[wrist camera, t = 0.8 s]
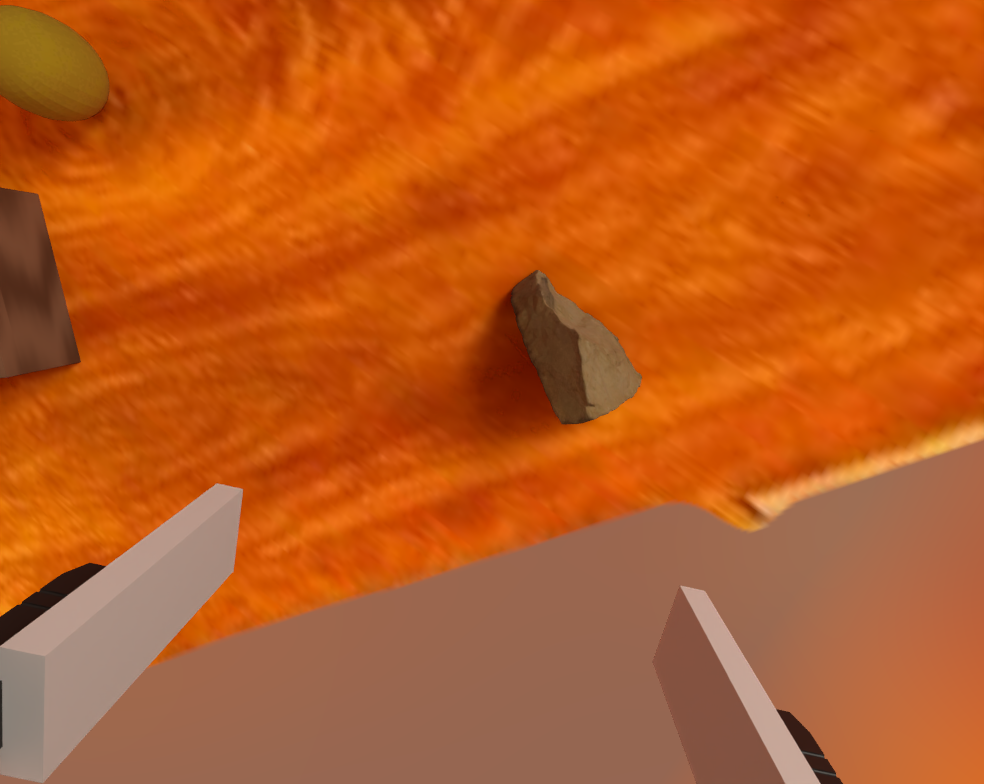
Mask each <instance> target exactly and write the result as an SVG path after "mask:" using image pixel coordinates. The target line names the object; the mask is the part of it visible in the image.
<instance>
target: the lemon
mask: <svg viewBox="0 0 984 784" xmlns="http://www.w3.org/2000/svg"><path fill="white" fill-rule="evenodd" d="M0 95H2V96H3V97H5V98H6V99H8V100H9V101H11V102H12V103H14V104H15V105H17V106H19V107H21V108H22V109H25V110H27V111H29V112H32V113H34V114H37V115H39V116H42V117H45V118H48V119H53V120H61V121H78V120H84V119H88V118H90V117H92V116H94V115H95V114H97V113H98V112H99V111H100V110H101V109H102V108H103V107H104V105H105V103H106V102H107V99H108V95H109V79H108V74H107V71H106V69H105V67H104V64H103V62H102V60H101V58H100V57H99V56H98V54H97V53H96V52H95V50H94V49H93V48H92V46H91V45H90V44H89V43H88V42H87V41H86V40H84V39H83V38H82V37H81V36H80V35H79V34H78V33H76V32H75V31H74V30H73V29H71V28H70V27H68V26H67V25H65V24H63V23H61V22H60V21H58V20H56V19H54V18H52V17H50V16H48V15H46V14H43V13H41V12H38V11H34V10H30V9H26V8H22V7H18V6H11V5H4V6H0Z"/></svg>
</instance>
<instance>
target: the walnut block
mask: <svg viewBox="0 0 984 784" xmlns="http://www.w3.org/2000/svg"><path fill="white" fill-rule="evenodd" d="M79 362H81V361H80V357H79V353H78V349H77V345H76V341H75V337H74V333H73V329H72V325H71V322H70V318H69V314H68V310H67V306H66V302H65V298H64V294H63V290H62V286H61V282H60V278H59V274H58V270H57V266H56V263H55V259H54V255H53V251H52V247H51V243H50V239H49V235H48V231H47V227H46V223H45V219H44V215H43V211H42V208H41V204H40V200H39V196H38V194H35V193H29V192H23V191H17V190H11V189H5V188H0V378H5V377H11V376H16V375H21V374H26V373H30V372H35V371H40V370H45V369H50V368H55V367H59V366H64V365H69V364H74V363H79Z"/></svg>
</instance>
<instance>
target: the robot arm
mask: <svg viewBox="0 0 984 784" xmlns="http://www.w3.org/2000/svg"><path fill="white" fill-rule="evenodd" d="M242 494H243V489H240V488H236V487H231V486H227V485H222V484H218V483H217V484H216V485H214V486H213V487H212V488H210V489H209V490H208V491H206V492H205V493H204V494H202V495H201V496H200V497H198V498H197V499H196V500H194V501H193V502H192V503H190V504H189V505H188V506H186V507H185V508H184V509H182V510H181V511H180V512H178V513H177V514H176V515H174V516H173V517H172V518H170V519H169V520H168V521H166V522H165V523H164V524H162V525H161V526H160V527H158V528H157V529H156V530H154V531H153V532H152V533H150V534H149V535H148V536H146V537H145V538H144V539H142V540H141V541H140V542H138V543H137V544H136V545H134V546H133V547H132V548H130V549H129V550H128V551H126V552H125V553H124V554H122V555H121V556H120V557H118V558H117V559H116V560H114V561H113V562H112V563H110V564H109V565H108V566H102V565H98V564H93V563H88V564H86V565H83V566H81V567H78V568H76V569H73V570H71V571H68V572H66V573H63V574H61V575H60V576H58V577H57V578H56V579H54V580H53V581H51V582H50V583H48V584H47V585H45V586H44V587H43V588H41V589H40V591H39V592H35V593H34V594H32V595H31V596H30V597H28V598H27V599H25V600H24V601H23V602H22V604H21V605H17V606H15V607H14V608H12V609H11V610H9V611H8V612H6V613H5V614H4V615H2V616H1V617H0V774H1V775H5V776H10V777H15V778H20V779H25V780H30V781H35V782H39V783H43V782H44V781H45V780H46V779H47V778H48V777H49V776H50V775H51V773H52V772H53V771H54V770H55V769H56V768H57V767H58V766H59V764H61V762H62V761H63V760H64V759H65V758H66V757H67V756H68V755H69V754H70V752H71V751H72V750H73V749H74V748H75V747H76V746H77V745H78V743H79V742H80V741H81V740H82V739H83V738H84V737H85V736H86V734H87V733H88V732H89V731H90V730H91V729H92V728H93V727H94V726H95V724H96V723H97V722H98V721H99V720H100V719H101V718H102V717H103V716H104V715H105V713H106V712H107V711H108V710H109V709H110V708H111V707H112V706H113V705H114V703H115V702H116V701H117V700H118V699H119V698H120V697H121V696H122V695H123V693H124V692H125V691H126V690H127V689H128V688H129V687H130V686H131V685H132V683H133V682H134V681H135V680H136V679H137V678H138V677H139V676H140V674H141V673H142V672H143V671H144V670H145V669H146V668H147V667H148V666H149V664H150V663H151V662H152V661H153V660H154V659H155V658H156V657H157V656H158V654H159V653H160V652H161V651H162V650H163V649H164V648H165V647H166V646H167V644H168V643H169V642H170V641H171V640H172V639H173V638H174V637H175V636H176V634H177V633H178V632H179V631H180V630H181V629H182V628H183V627H184V626H185V624H186V623H187V622H188V621H189V620H190V619H191V618H192V617H193V616H194V614H195V613H196V612H197V611H198V610H199V609H200V608H201V607H202V605H203V604H204V603H205V602H206V601H207V600H208V599H209V598H210V597H211V595H212V594H213V593H214V592H215V591H216V590H217V589H218V588H219V587H220V585H221V584H222V583H223V582H224V581H225V580H226V579H227V578H228V577H229V575H230V574H231V573H232V572H233V571H234V562H235V554H236V545H237V537H238V528H239V519H240V511H241V502H242ZM653 665H654V667H655V670H656V673H657V676H658V679H659V681H660V684H661V687H662V690H663V692H664V695H665V698H666V701H667V704H668V706H669V709H670V712H671V714H672V717H673V720H674V723H675V726H676V728H677V731H678V734H679V737H680V739H681V742H682V745H683V748H684V751H685V753H686V756H687V759H688V761H689V764H690V767H691V770H692V773H693V775H694V778H695V781H696V784H843V783H842V782H841V780H840V779H839V778H837V777H836V773H835V771H834V769H833V768H832V766H831V765H830V763H829V762H828V760H827V759H825V758H824V754H823V752H822V751H821V749H820V747H819V746H818V744H817V743H816V741H815V740H814V738H813V737H812V735H811V734H810V732H809V731H808V730H807V729H806V728H805V727H804V726H802V724H801V723H800V722H799V721H798V720H797V719H796V718H795V717H794V716H793V715H792V714H791V713H790V712H786V711H782V710H777V709H775V707H774V705H773V704H772V702H771V701H770V699H769V697H768V696H767V694H766V692H765V690H764V689H763V687H762V685H761V684H760V682H759V680H758V679H757V677H756V675H755V674H754V672H753V671H752V669H751V667H750V666H749V664H748V662H747V660H746V659H745V657H744V655H743V654H742V652H741V650H740V649H739V647H738V645H737V644H736V642H735V640H734V639H733V637H732V635H731V634H730V632H729V630H728V629H727V627H726V625H725V624H724V622H723V620H722V619H721V617H720V616H719V614H718V612H717V610H716V609H715V607H714V605H713V604H712V602H711V600H710V599H709V597H708V595H707V594H706V592H705V591H703V590H698V589H694V588H689V587H685V586H679V589H678V592H677V595H676V597H675V600H674V603H673V606H672V609H671V611H670V614H669V617H668V620H667V623H666V625H665V628H664V631H663V634H662V637H661V639H660V642H659V645H658V648H657V651H656V653H655V656H654V659H653Z"/></svg>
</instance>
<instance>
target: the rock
mask: <svg viewBox="0 0 984 784" xmlns="http://www.w3.org/2000/svg"><path fill="white" fill-rule="evenodd" d="M511 295H512V297H511V303H512V306H513V309H514V313H515V315H516V321H517V325H518V328H519V330H520V332H521V334H522V336H523V341H524V344H525V346H526V348H527V352H528V354H529V357H530V359H531V362H532V363H533V365H534V366H535V367H536V369H537V372H538V376H539V377H540V379H541V382H542V384H543V387H544V390H545V392H546V394H547V396H548V399H549V401H550V403H551V405H552V408H553V410H554V412H555V414H556V415H557V417H558V418H559V420H560V421H561V423H562V424H579V423H584V422H587V421H590V420H594V419H596V418H598V417H599V416H602V415H605V414H608V413H609V412H610V411H612V410H615V409H616V408H618V407H619V405H620V404H622V403H624V401H626V400H627V399H629V398H632V397H633V396H634V394H635V393H636V392H637V388H638V387H640V384H641V379H642V376H641V374H639V373H637V372H636V371H635V369H634V368H633V366H632V364H631V362H630V361H629V359H628V358H627V356H626V354H625V351H624V349H623V348H622V346H621V345H620V344H619V342H618V338H617V337H616V336H614V335H613V334H612V333H611V332H610V331H609V330H607V329H606V327H605V326H603V324H602V323H601V322H600V321H599V320H596V319H595V318H593V317H592V316H591V315H590V314H588V313H584V312H583V311H582V310H581V309H579V308H578V307H577V305H576V304H575V303H573V302H572V301H570V300H569V299H567V298H565V297H563V296H561V295H560V294H558V293H557V292H556V291H555V289H554V287H553V286H552V284H551V283H550V280H549V279H548V277H547V276H546V275H545V274H543V273H542V272H540V271H539V270H536V271H535V272H533V273H532V274H531V275H529V276H528V277H527V278H525V279H524V280H522V281H521V282H519V283H518V284H517V285H516V286H515V287H514V288H513V291H512V293H511Z"/></svg>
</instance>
